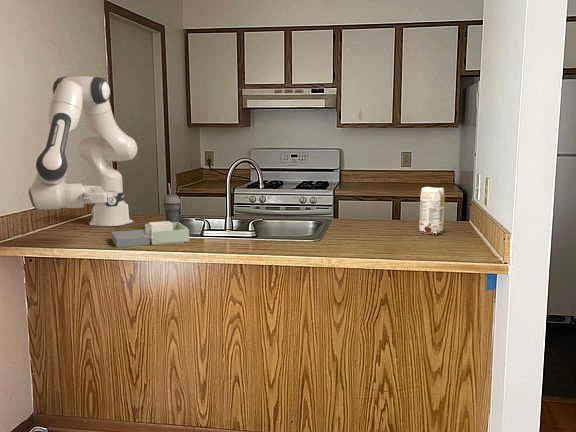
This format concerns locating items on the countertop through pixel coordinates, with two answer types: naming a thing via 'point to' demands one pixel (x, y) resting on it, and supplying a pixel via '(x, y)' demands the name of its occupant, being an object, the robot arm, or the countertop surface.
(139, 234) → the board
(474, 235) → the countertop surface
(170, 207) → the beverage cup
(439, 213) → the juice carton
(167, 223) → the off-white upright block
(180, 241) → the box
